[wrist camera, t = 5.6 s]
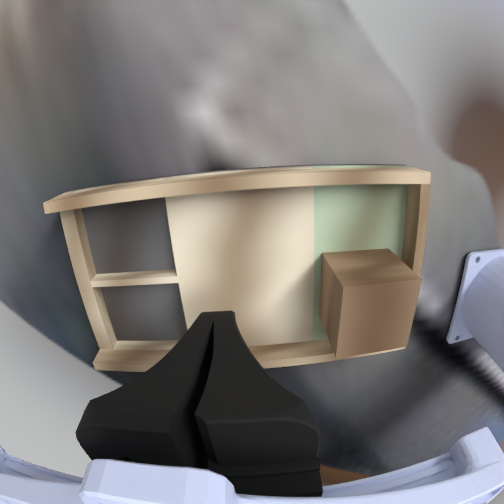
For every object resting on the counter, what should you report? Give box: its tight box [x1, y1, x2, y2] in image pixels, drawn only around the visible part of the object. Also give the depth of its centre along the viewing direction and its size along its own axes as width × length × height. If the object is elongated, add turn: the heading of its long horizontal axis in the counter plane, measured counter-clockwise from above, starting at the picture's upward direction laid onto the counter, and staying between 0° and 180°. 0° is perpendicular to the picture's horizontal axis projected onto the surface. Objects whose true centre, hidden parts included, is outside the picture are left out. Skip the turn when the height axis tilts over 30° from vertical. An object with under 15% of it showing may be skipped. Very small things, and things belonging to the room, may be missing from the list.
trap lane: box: [43, 164, 431, 372], centre depth 17 cm, size 20×11×3 cm, turn 94°
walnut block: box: [319, 248, 421, 358], centre depth 16 cm, size 4×4×4 cm
